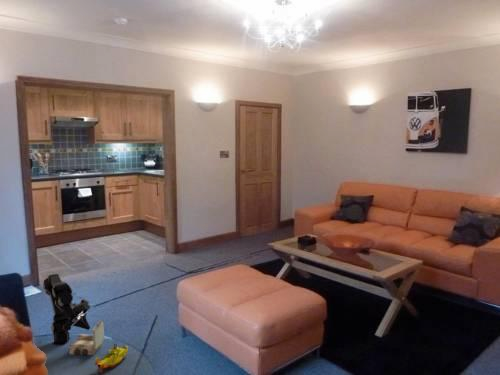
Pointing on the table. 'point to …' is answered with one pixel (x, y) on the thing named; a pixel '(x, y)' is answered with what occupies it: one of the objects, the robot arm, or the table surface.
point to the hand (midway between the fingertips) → (89, 328)
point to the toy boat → (112, 357)
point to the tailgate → (98, 334)
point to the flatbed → (83, 345)
